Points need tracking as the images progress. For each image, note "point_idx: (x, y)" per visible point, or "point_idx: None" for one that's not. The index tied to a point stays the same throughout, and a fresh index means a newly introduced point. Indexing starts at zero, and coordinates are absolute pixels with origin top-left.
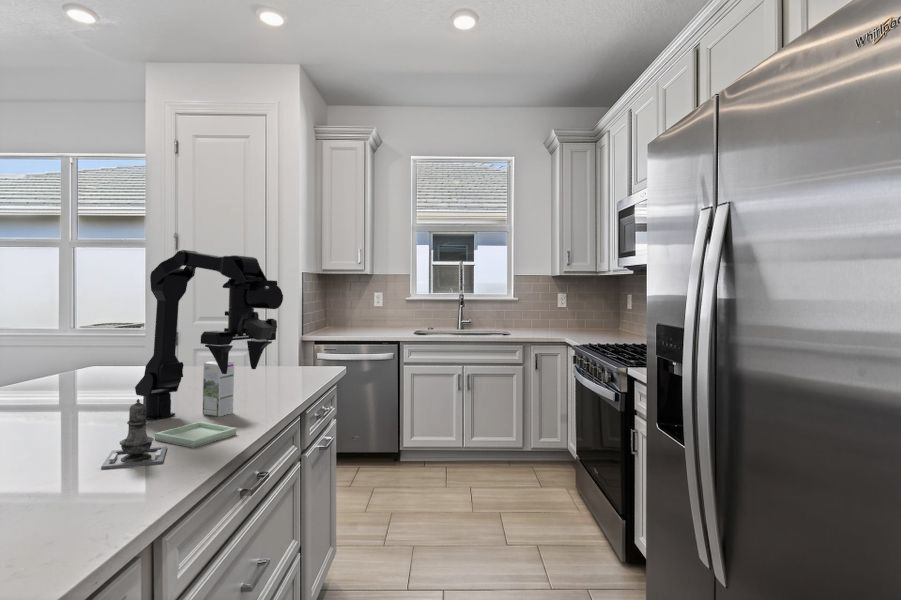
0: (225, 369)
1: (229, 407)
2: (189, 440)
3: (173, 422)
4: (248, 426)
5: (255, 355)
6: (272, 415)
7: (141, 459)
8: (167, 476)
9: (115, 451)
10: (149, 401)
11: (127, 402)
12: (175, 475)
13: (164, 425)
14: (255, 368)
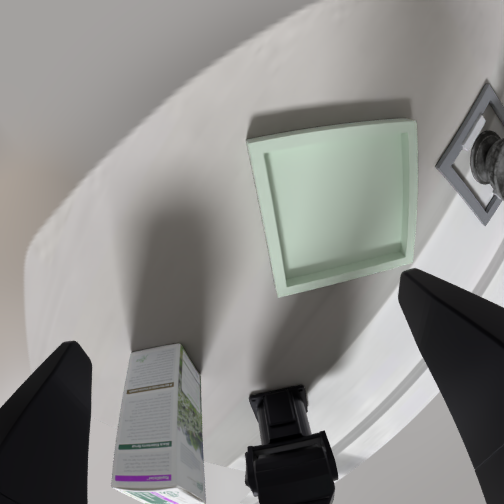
0: (446, 281)
1: (141, 363)
2: (416, 136)
3: (285, 358)
4: (159, 202)
5: (34, 447)
6: (48, 268)
7: (493, 135)
8: (501, 22)
9: (486, 216)
10: (308, 426)
11: None
12: (493, 12)
13: (313, 347)
14: (66, 341)
